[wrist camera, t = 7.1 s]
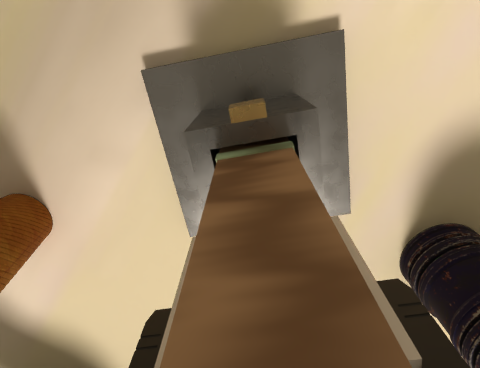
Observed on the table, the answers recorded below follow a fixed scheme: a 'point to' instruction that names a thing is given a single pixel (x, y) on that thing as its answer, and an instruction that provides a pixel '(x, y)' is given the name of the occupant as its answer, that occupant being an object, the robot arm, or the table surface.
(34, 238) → the disposable coffee cup
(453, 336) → the storage jar
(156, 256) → the table surface
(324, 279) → the column
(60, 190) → the table surface
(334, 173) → the grey socket base
